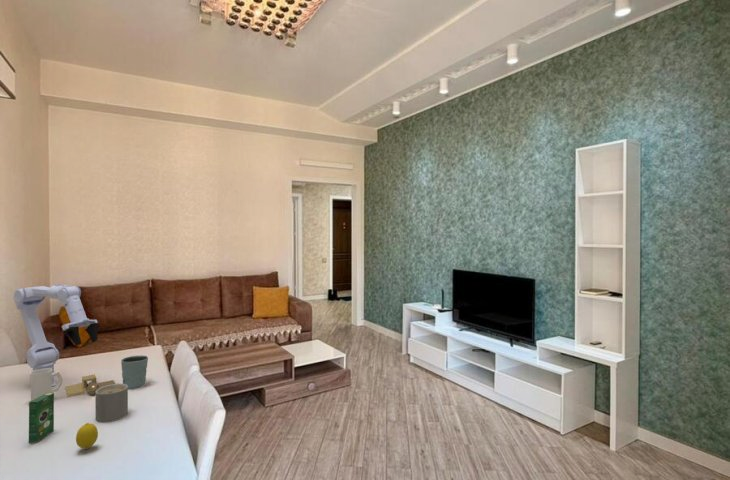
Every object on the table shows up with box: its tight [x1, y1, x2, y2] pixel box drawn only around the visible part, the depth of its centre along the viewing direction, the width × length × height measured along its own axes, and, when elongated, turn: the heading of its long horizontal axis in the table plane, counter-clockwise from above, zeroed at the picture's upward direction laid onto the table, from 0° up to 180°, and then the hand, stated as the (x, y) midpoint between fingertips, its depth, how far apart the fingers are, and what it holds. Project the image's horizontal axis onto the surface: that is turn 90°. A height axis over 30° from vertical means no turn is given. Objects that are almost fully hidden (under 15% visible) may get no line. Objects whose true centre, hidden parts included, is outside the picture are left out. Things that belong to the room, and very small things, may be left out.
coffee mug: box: [94, 383, 129, 423], centre depth 145 cm, size 13×10×10 cm
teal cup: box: [120, 355, 149, 391], centre depth 173 cm, size 10×10×12 cm
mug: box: [29, 368, 63, 401], centre depth 157 cm, size 10×7×12 cm, turn 124°
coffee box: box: [28, 392, 55, 444], centre depth 129 cm, size 8×3×13 cm, turn 6°
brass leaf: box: [64, 373, 97, 398], centre depth 169 cm, size 12×11×4 cm
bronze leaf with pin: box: [86, 379, 116, 396], centre depth 169 cm, size 12×10×4 cm
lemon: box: [75, 422, 99, 450], centre depth 121 cm, size 6×6×8 cm
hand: (87, 342), depth 163 cm, fingers open, 7 cm apart
